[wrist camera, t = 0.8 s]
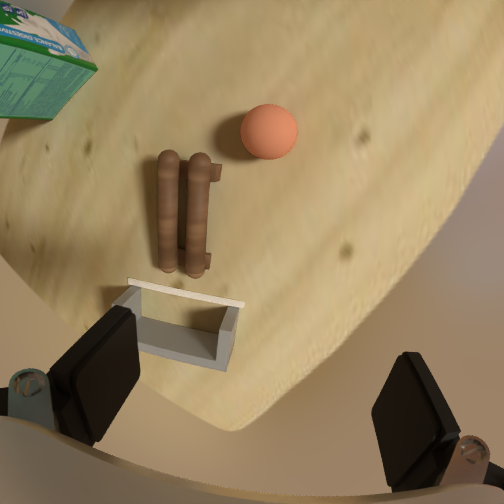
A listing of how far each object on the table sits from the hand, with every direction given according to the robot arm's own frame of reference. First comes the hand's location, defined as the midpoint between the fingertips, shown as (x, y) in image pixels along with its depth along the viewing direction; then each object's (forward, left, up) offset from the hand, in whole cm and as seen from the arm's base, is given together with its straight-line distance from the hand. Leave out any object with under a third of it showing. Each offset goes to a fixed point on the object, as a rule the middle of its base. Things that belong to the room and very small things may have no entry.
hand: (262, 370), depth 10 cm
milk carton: (-16, -29, -22) cm, 40 cm away
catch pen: (+12, -9, -21) cm, 26 cm away
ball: (-9, -2, -19) cm, 21 cm away
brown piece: (0, -9, -21) cm, 23 cm away
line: (+9, -9, -21) cm, 25 cm away
